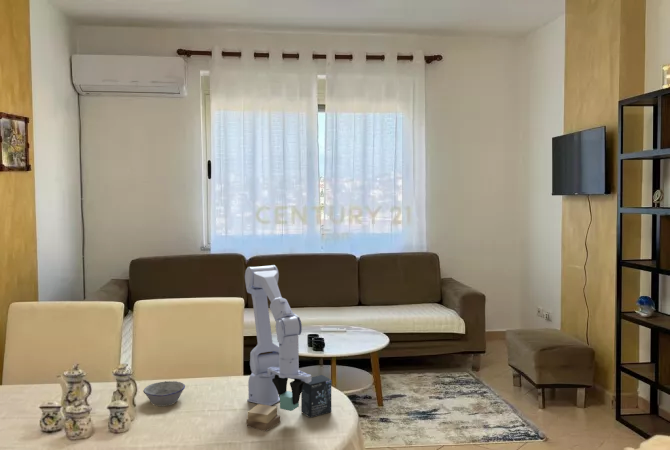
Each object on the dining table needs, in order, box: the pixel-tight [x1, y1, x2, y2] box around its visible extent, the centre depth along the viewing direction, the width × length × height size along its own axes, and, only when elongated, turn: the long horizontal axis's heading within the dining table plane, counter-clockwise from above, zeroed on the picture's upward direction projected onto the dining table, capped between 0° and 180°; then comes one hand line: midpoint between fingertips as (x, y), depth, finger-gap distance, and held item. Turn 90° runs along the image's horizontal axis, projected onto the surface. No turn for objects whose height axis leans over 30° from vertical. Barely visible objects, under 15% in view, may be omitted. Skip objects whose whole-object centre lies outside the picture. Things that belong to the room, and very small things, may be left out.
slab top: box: [247, 403, 278, 423], centre depth 170 cm, size 6×6×2 cm
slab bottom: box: [246, 414, 281, 432], centre depth 170 cm, size 7×7×2 cm
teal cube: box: [279, 390, 300, 412], centre depth 171 cm, size 4×4×4 cm
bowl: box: [142, 380, 186, 407], centre depth 188 cm, size 13×13×5 cm
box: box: [300, 374, 332, 419], centre depth 178 cm, size 8×6×11 cm
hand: (289, 401), depth 171 cm, fingers closed on teal cube, 4 cm apart
